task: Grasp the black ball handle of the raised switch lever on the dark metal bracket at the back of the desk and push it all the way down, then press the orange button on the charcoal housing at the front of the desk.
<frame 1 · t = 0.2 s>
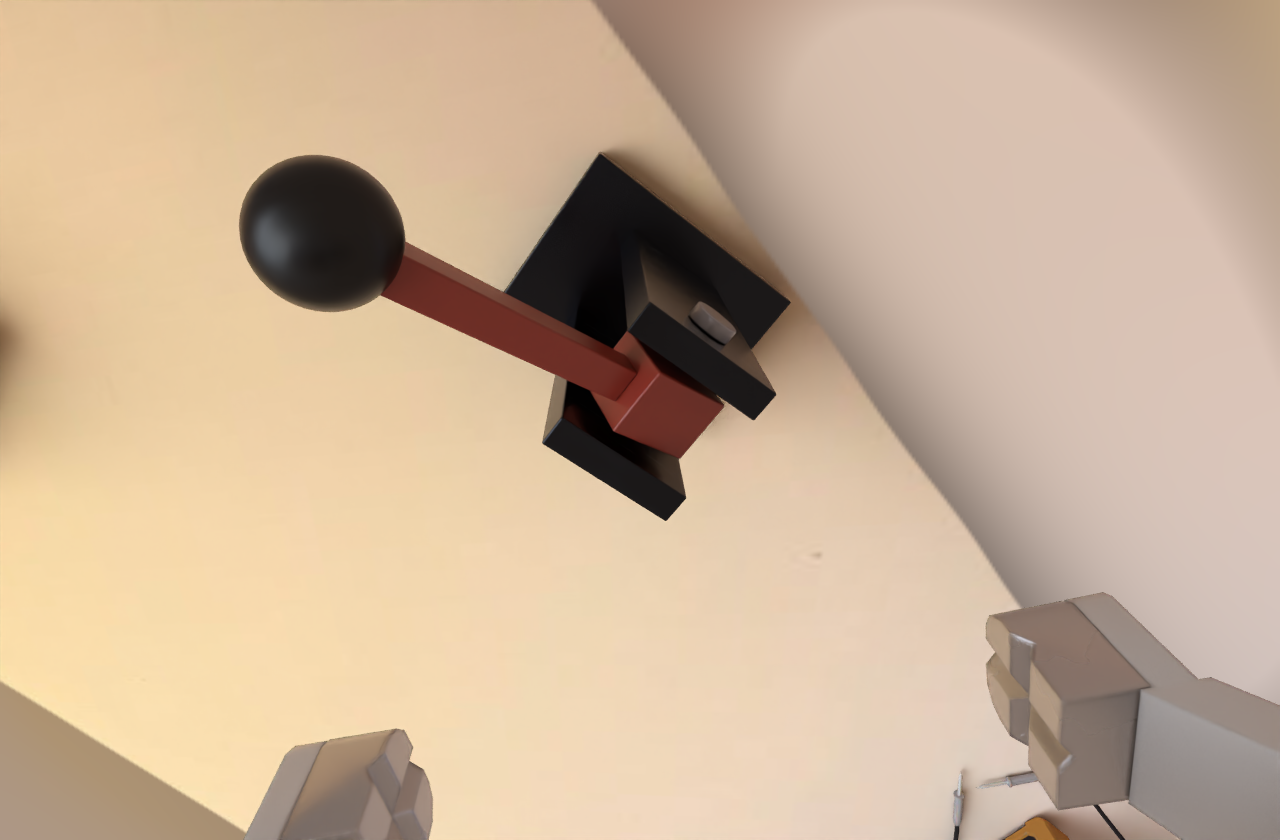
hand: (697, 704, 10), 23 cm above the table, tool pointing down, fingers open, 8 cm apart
switch bracket: (639, 301, 32), on the table
multimeter: (970, 822, 47), on the table
switch lever: (515, 327, 18), point 13 cm above the table, hinge at 25.0°
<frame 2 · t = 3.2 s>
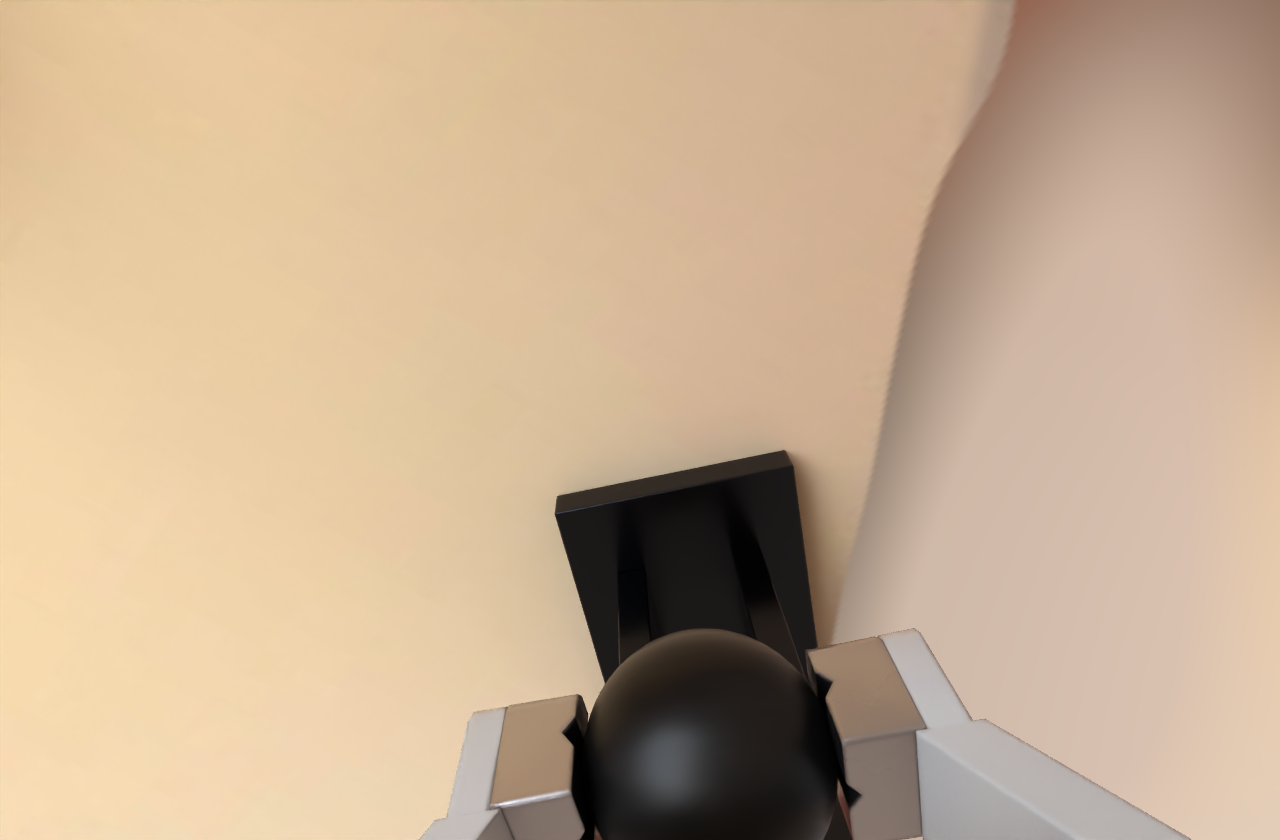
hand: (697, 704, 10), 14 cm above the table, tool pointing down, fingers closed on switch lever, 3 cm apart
switch bracket: (695, 588, 27), on the table
switch lever: (733, 837, 13), point 13 cm above the table, hinge at 25.0°, touching gripper
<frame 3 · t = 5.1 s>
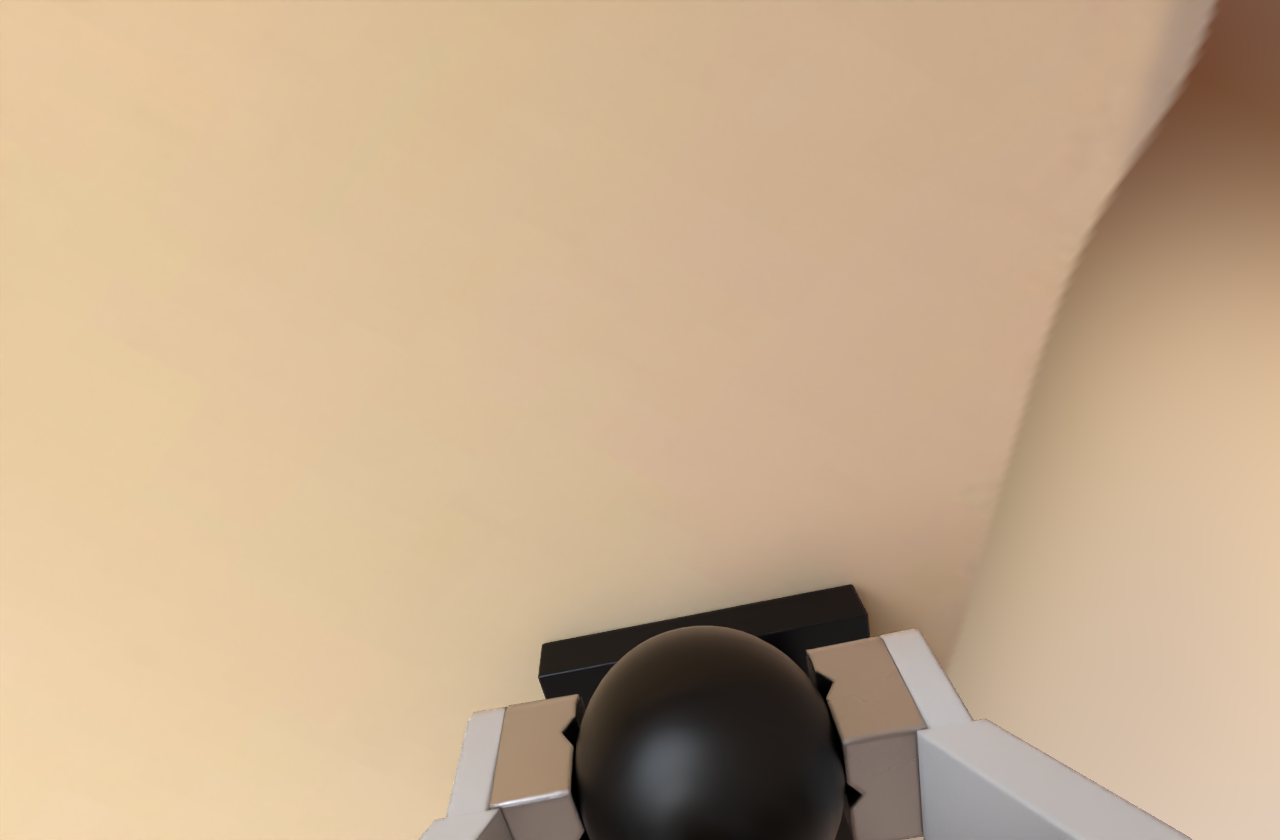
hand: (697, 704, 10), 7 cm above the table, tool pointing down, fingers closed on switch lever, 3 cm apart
switch bracket: (726, 752, 20), on the table
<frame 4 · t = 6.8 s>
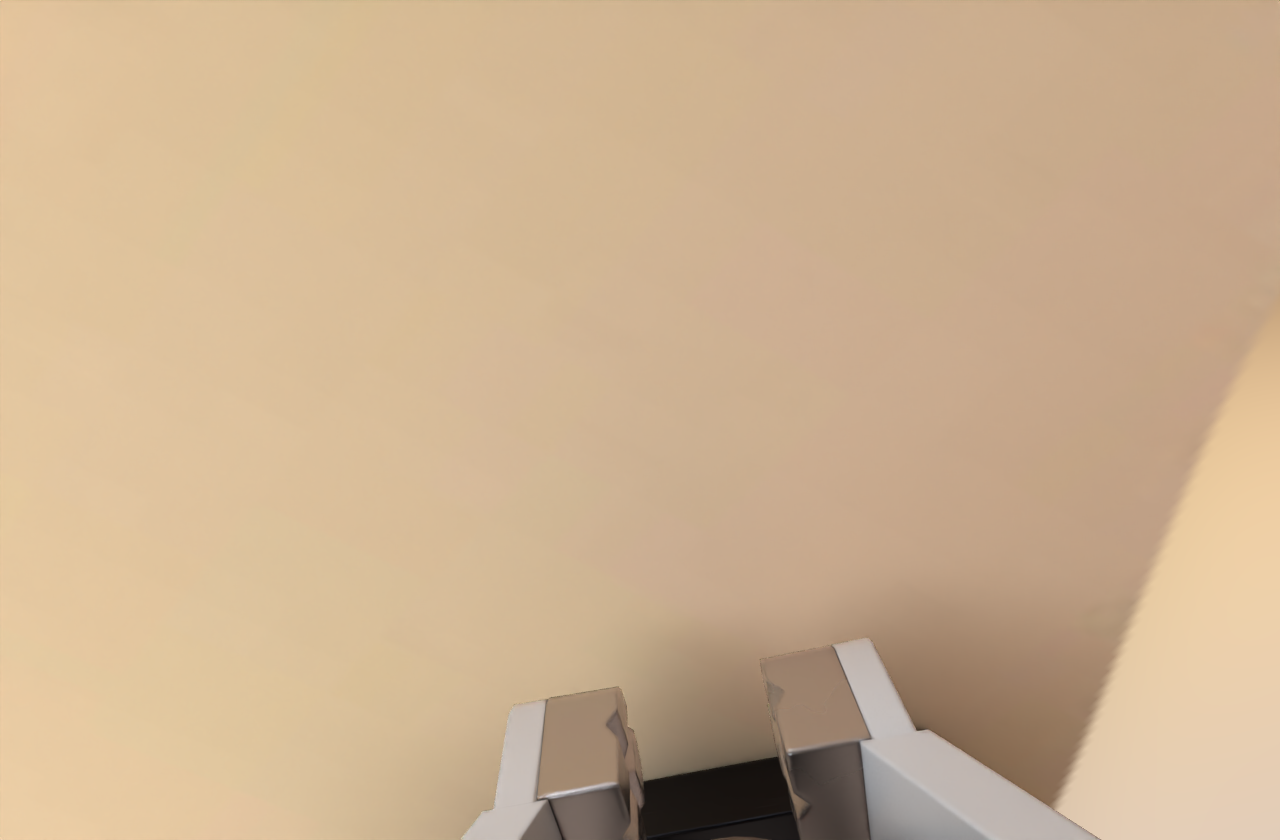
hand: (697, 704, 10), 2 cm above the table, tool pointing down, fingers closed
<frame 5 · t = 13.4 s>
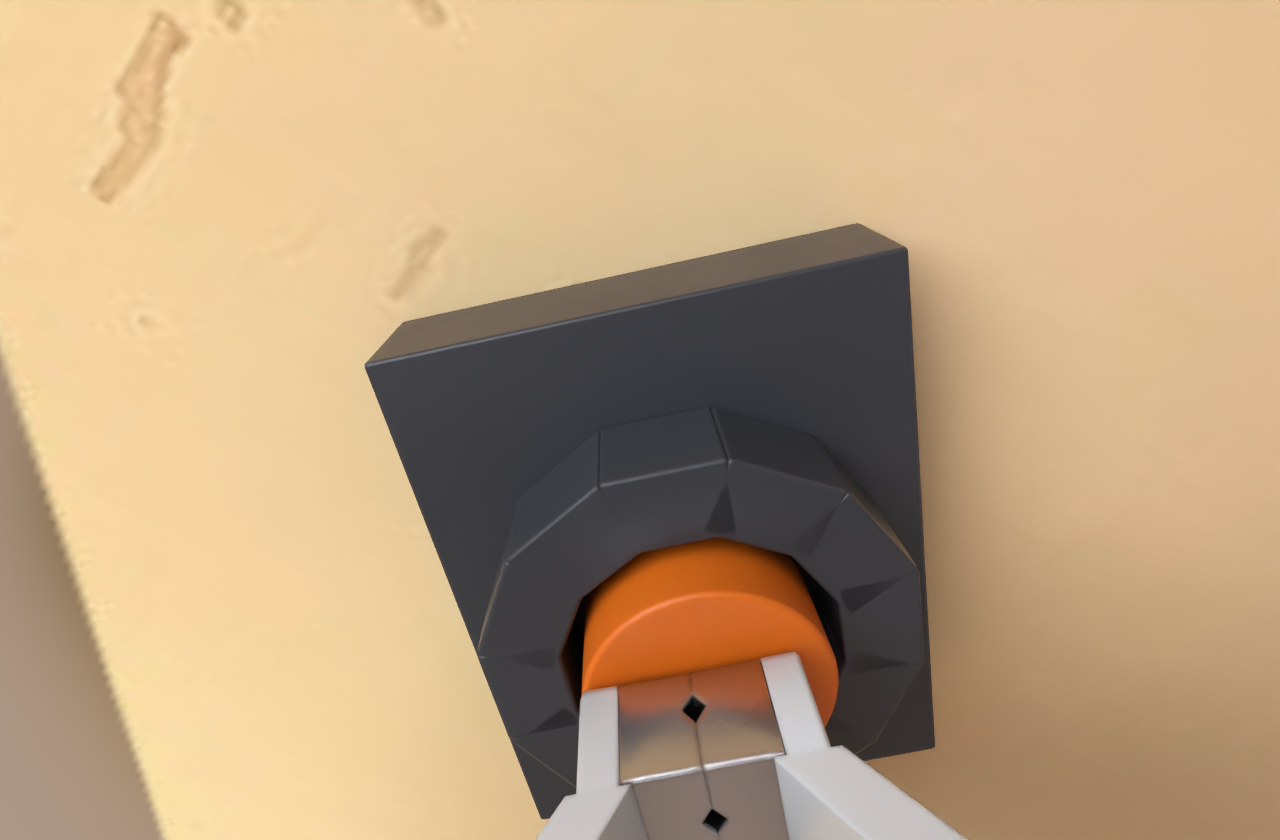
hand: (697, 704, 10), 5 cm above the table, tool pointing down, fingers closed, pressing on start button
button box: (680, 517, 14), on the table
start button: (703, 655, 11), point 4 cm above the table, slide at -0.5 cm, touching gripper
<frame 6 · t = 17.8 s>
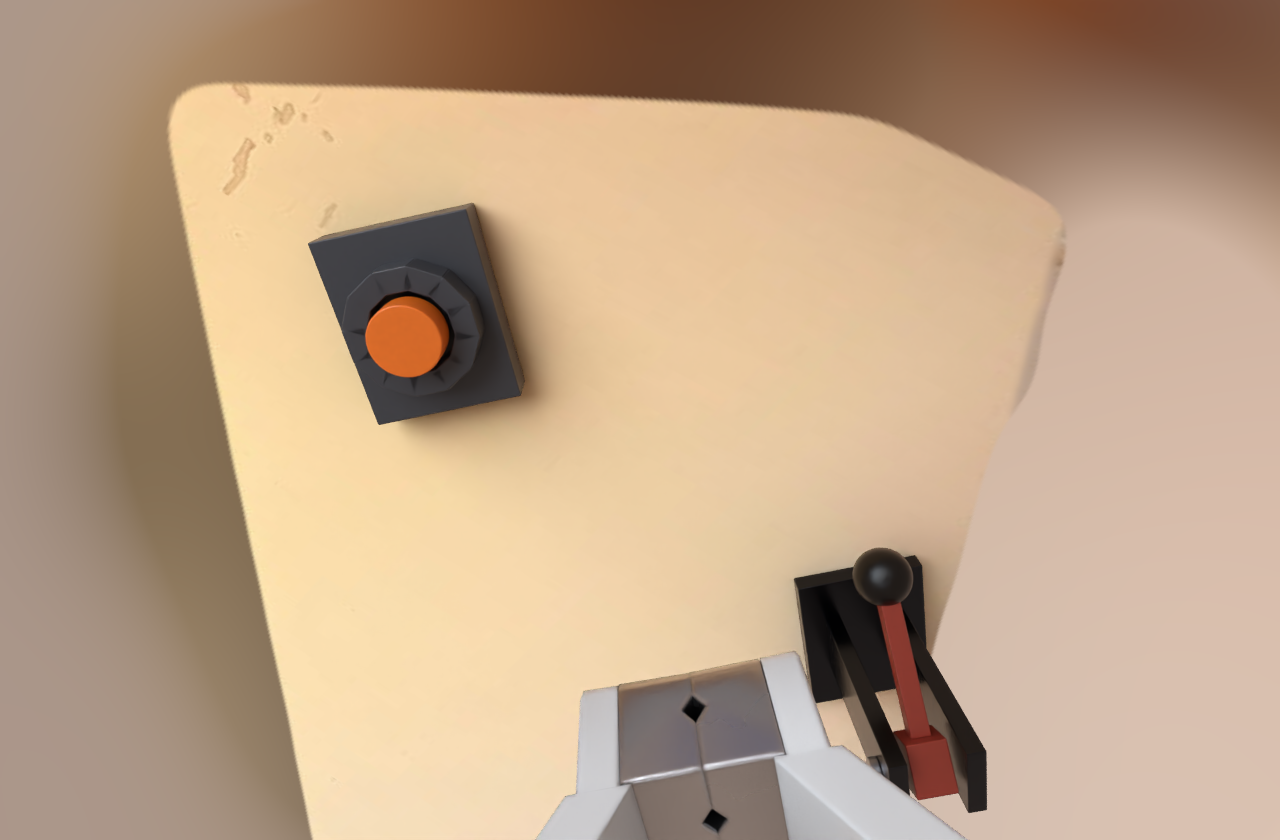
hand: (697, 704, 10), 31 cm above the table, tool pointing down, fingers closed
button box: (429, 311, 39), on the table
start button: (408, 336, 35), point 4 cm above the table, slide at 0.1 cm
switch bracket: (860, 626, 49), on the table
switch lever: (903, 665, 40), point 8 cm above the table, hinge at -30.2°
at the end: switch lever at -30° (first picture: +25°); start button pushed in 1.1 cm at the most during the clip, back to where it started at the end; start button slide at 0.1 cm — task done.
